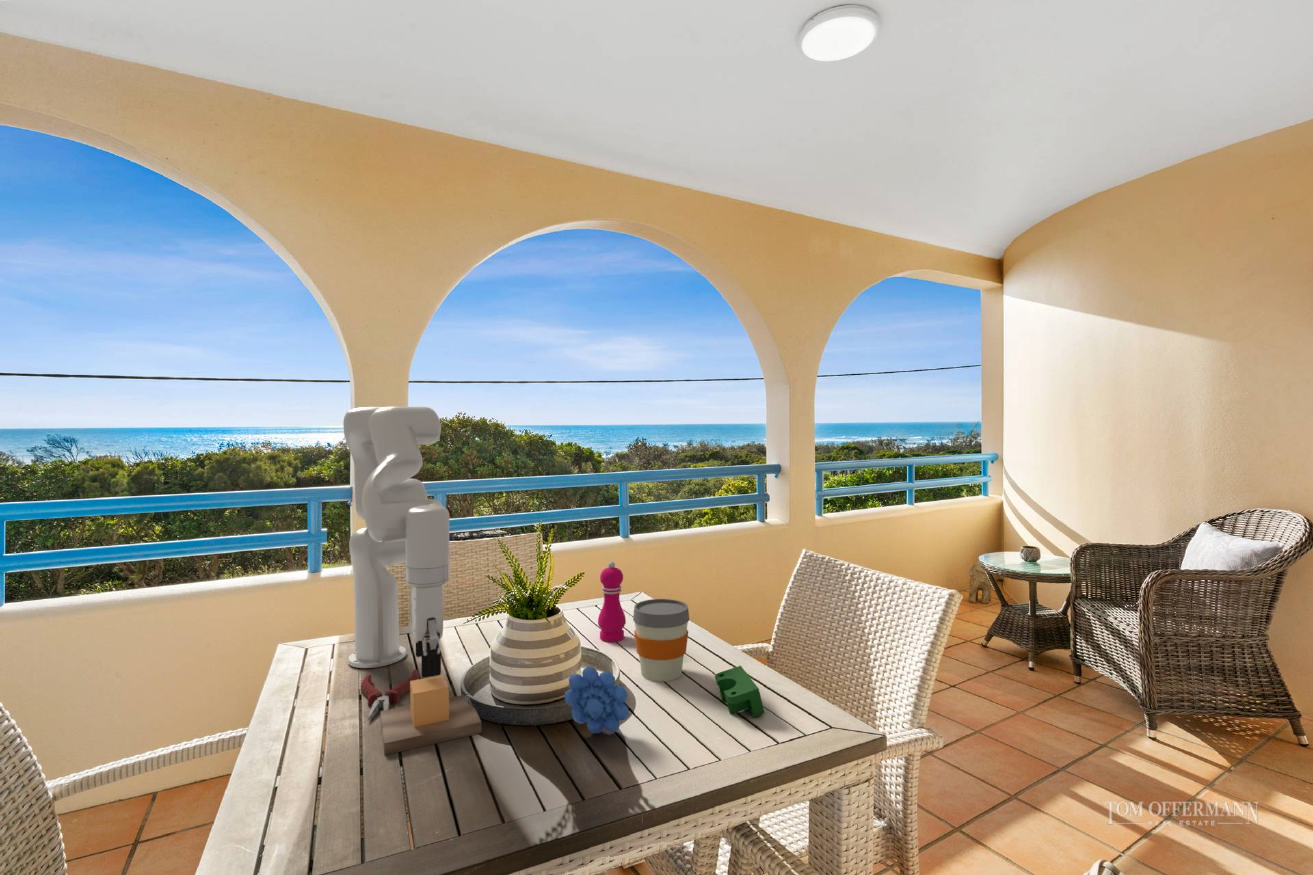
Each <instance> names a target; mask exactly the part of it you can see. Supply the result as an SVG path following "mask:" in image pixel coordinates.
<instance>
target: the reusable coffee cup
mask: <svg viewBox="0 0 1313 875" xmlns="http://www.w3.org/2000/svg"><path fill="white" fill-rule="evenodd" d="M632 617H633V619H632V620H633V623H634V626H635V629H634V632H633V634H634V641H635V649H636V653H637V654H638V657H639V666H640V672H641V676H642V677H643V678H644V679H646V680H648V681H652V682H660V683H661V682H662V683H663V682H671V681H675V680H677V679H679V678H680V677H681V676H682V673H683V663H684V658H685V657H684V655H685V654H686V652H687V646H688V640H689V639H688V638H689V637H688V636H689V630H688V623H689V621H690V613H689V605H688V604H687V603H686V602H683V601H681V600H677V599H672V598H652V599H647V600H642V601H639V602H637V603H635V604H634V607H633V616H632Z"/></svg>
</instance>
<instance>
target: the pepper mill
mask: <svg viewBox="0 0 1313 875" xmlns="http://www.w3.org/2000/svg"><path fill="white" fill-rule="evenodd" d="M607 566H608V567H606V568H603V570H602V571H601V573H600V576H599V580H600V583H601V584H602V586H601V589H602V590H601V592H602V593H603V604H602V607H601V610H600V612H599V614H598V617H597V624H598V627H599V628H600V629H601V630H600V631H599V639H600V640H601V641H603V642H605V643H606V642H607V643H616V642H620V641H622V640H624V638H625V631H624V629H623V628H624V627H625V626H626V624H627V623H626V622H627V621H626V620H627V619H626V615H625V611H624V610H623V607H622V605H621V601H620V594H621V592H622V585H621V584H622V583H623V580H624V575H623V572H622V570H621V569H620V568H618V567H616V564H615V561H609V562H608V565H607Z"/></svg>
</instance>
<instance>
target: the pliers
mask: <svg viewBox="0 0 1313 875" xmlns="http://www.w3.org/2000/svg"><path fill="white" fill-rule="evenodd" d="M420 675H421V674H420V672H419V670H418V669H413V670H412V675H411V676H410V677H409V678H407V679H405V680H404V681H403V682H401V683H399V684H398V685H396V686H395V687H393V688H391V689H389V690H387V691H386V692H385V693H384V695H383V693H382V691H381V690H380V691H379V689H377V688H376V687H375V686H373V685H372V684H371V683H372V674H370V673H369V674H367V675H365V676H364V677H363V680H362V681H361V682H360V690H361V693H362V694H363V696H365V697H366V698H367V706H368V707H371V708H370V711H369V714H368V717H367V721H370V720H371V719H372V718H373V717H375V716H376V715H377V714H378V712H379V709H381V708H382V711H384V710H390V704H393V703H394V704H398V703H399V702H400V698H401V697H403V696H404V695H405V694H406V693H408V692H410V681H414V680H419V679H420Z"/></svg>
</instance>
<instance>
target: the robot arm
mask: <svg viewBox="0 0 1313 875" xmlns="http://www.w3.org/2000/svg"><path fill="white" fill-rule="evenodd" d="M342 422H343V434H344V439H345V443H346V445H347V447H348V450H349V453H350V454H351V457H352V461H353V469H354V471H353V472H354V473H353V474H354V502H355V504H354V505H355V510H356V514H357V516H358V517H359V518H360V519H361V520H364V521H365V522H364V523H365V526H366V527H361V528H360V529H358V530H356V531H354V532H353V533H352V534H351V536H350V538H349V542H348V548H349V554H350V560H351V566H352V573H353V589H354V590H353V591H354V594H353V595H354V596H353V597H354V599H353V600H354V602H353V604H354V647H355V648H354V652H352V653H351V654H350V655H349V656H348V657H347V663H348V665H349V666H351V667H353V668H358V669H374V668H381V667H386V666H388V665H392V664H395V663H397V662H399V661H401V660H403V659H404V658H405V657H406V656H407V648H405V647H404V646H402V645H400V628H399V626H400V625H399V624H400V619H399V616H400V615H399V613H400V612H399V583H398V580H397V578H396V577H395V576H394V574H393V573H391V572H390V571H389V570H388V569H387V567H389V566H392V565H400V564H405V585H406V586H408V587H410V597H409V599H410V600H409V601H410V604H409V606H410V607H409V610H410V611H409V630H410V633H411V637H412V641H413V642H414V643H415V657H416V658H420V657H421V660H420V661H421V666H420V667H421V668H420V669H421V674H420V675H421V677H422V679H425V678H430V677H436V676H441V675H442V652H441V644H440V639H442V638H443V634H444V585H445V584H447V583H448V582H449V581H450V512H449V510H448V508H447V507H445V506H444V505H443V503H442V502H441V501H439V500H438V499H433V498H428V494H427V493H428V492H427V490H426V487H425V485H424V483H423V482H422V481H421V480H419V479H418V478H413V477H414V476H415V475H417V474H418V473H419V472H420V471H421V468H422V466H423V456H422V453H421V450H420V447H419V446H422V445H423V446H424V445H433V444H436V443H437V442H438V441H439V440H440V437H441V433H442V425H441V421H440V417H439V416H438V413H437V412H436V411H435V410H434V409H433V408H431V407H429V406H428V407H427V406H364V407H363V406H362V407H356V408H352V409H350V410H348V411H346V412H345V415H344V417H343V421H342Z"/></svg>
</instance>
